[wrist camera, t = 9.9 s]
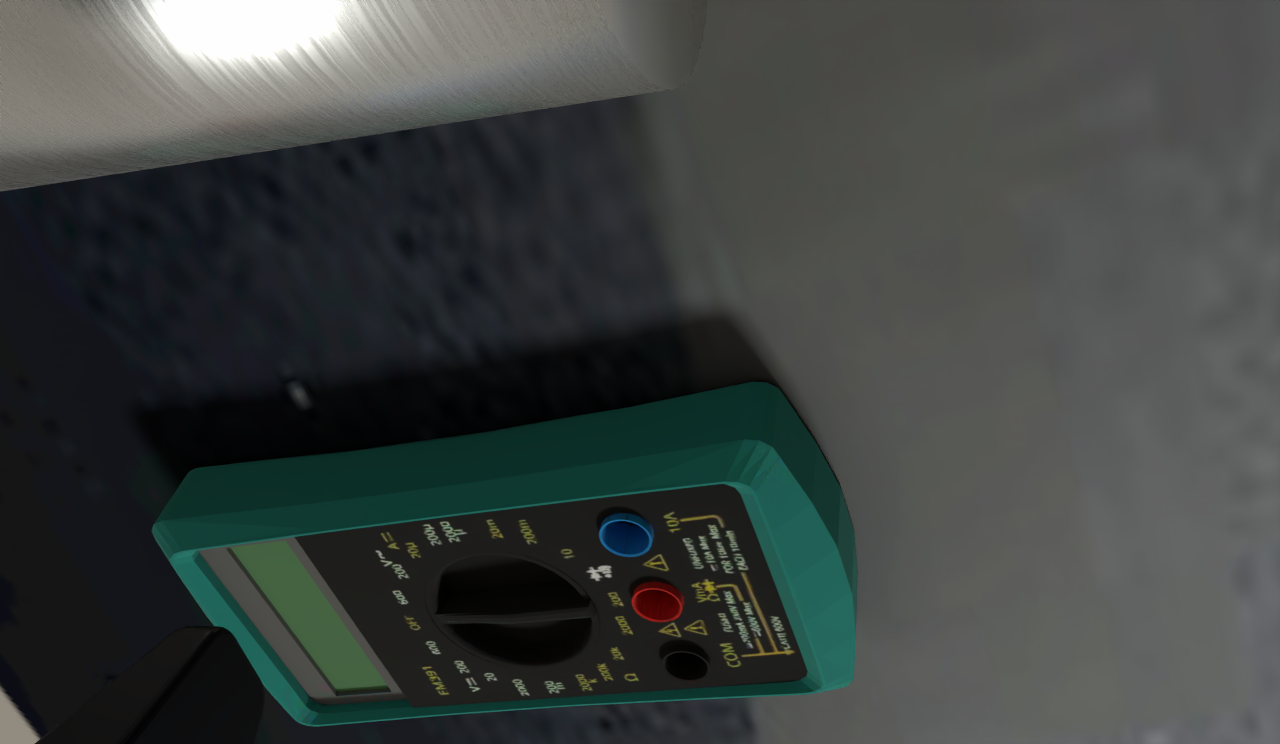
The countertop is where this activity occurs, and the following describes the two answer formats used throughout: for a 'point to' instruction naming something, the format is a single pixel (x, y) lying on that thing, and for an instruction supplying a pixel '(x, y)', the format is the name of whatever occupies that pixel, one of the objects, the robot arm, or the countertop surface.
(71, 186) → the countertop surface
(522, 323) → the countertop surface
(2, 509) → the countertop surface
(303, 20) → the cylinder
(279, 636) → the digital multimeter
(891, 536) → the countertop surface
